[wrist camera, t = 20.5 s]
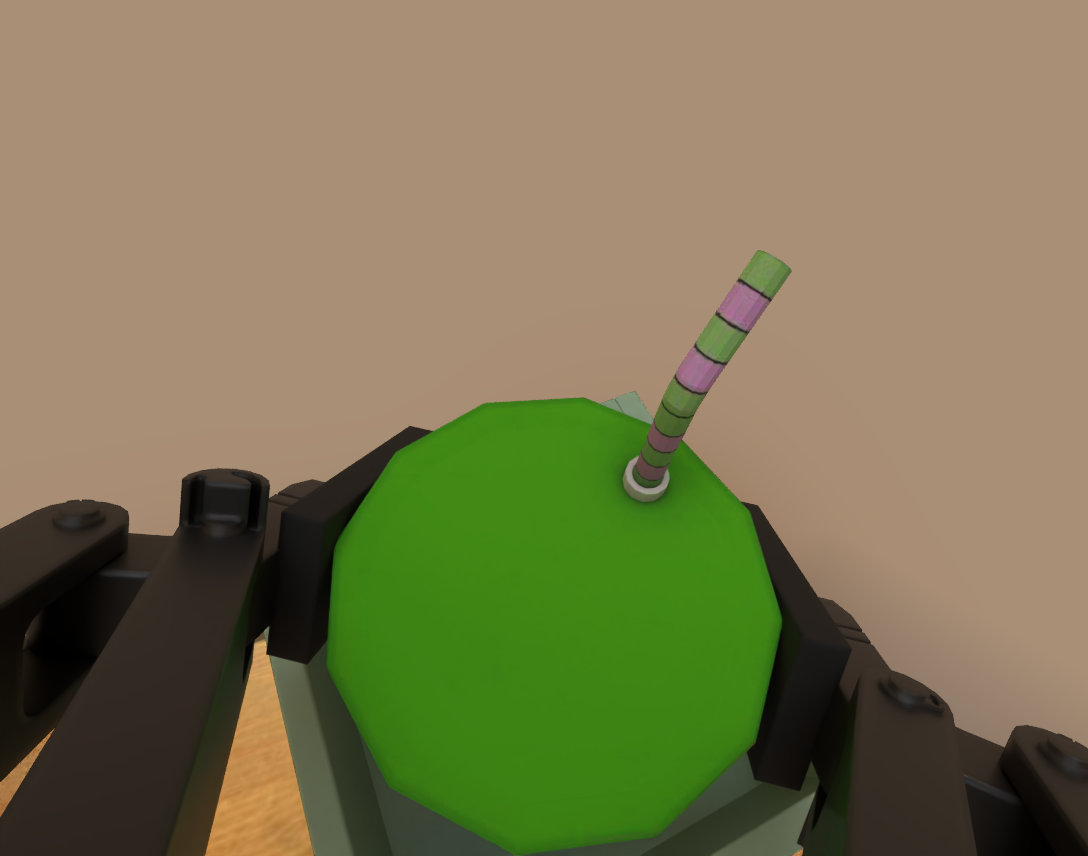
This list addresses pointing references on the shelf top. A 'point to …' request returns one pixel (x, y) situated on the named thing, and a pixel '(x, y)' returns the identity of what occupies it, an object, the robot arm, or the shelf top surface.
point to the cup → (560, 611)
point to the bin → (454, 852)
